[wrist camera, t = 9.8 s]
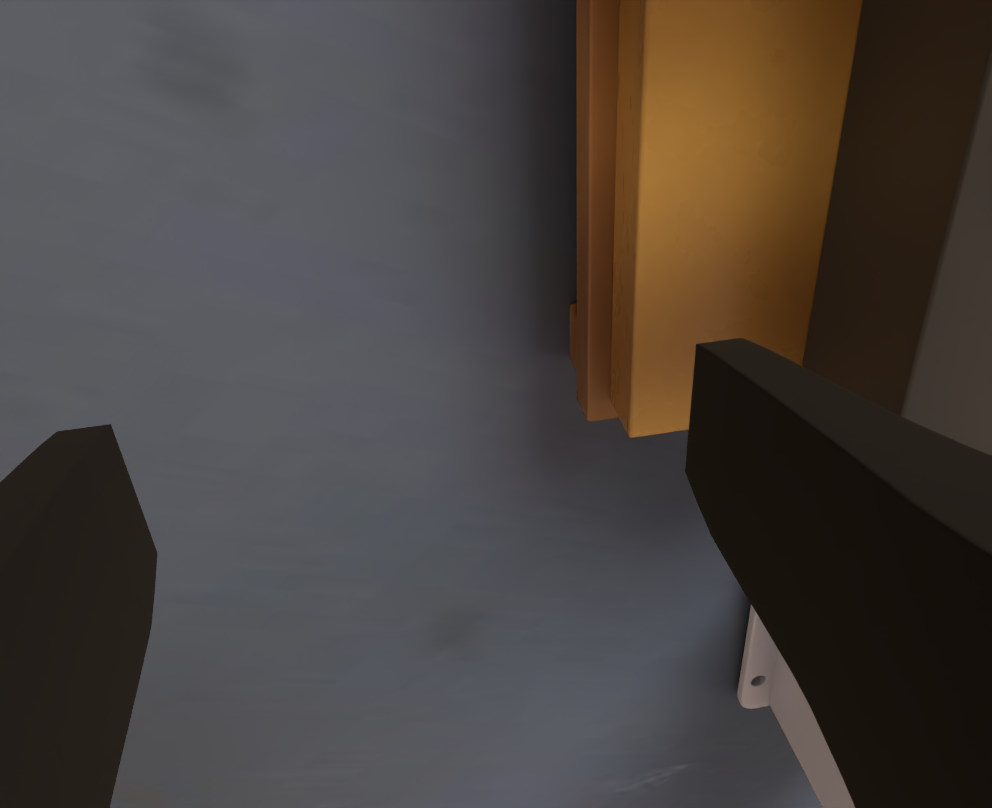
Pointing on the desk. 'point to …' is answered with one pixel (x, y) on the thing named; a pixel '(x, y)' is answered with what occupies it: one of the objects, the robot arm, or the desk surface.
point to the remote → (913, 221)
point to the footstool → (699, 188)
